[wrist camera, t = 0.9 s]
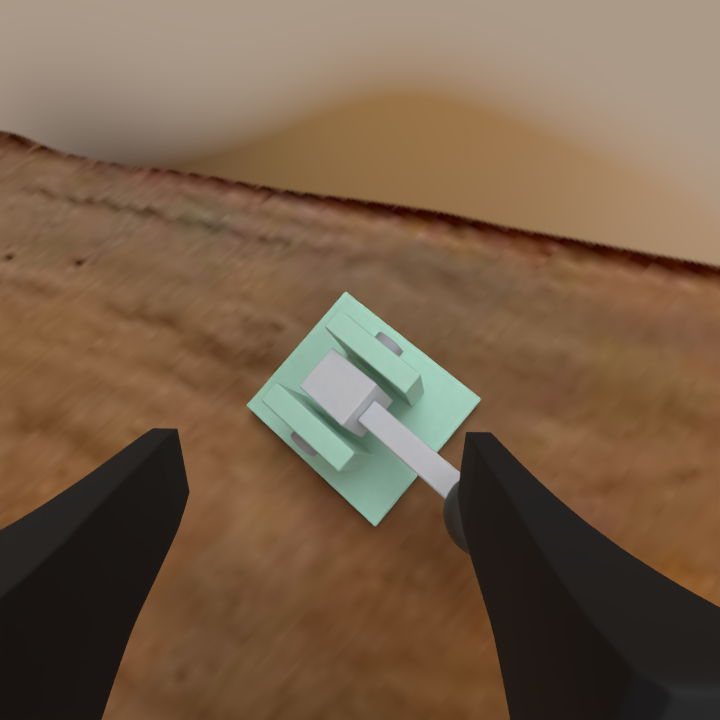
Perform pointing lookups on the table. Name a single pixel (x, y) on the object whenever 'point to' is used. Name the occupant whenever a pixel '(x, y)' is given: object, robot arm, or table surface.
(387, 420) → the lever
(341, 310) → the bracket
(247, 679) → the table surface
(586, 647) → the robot arm
